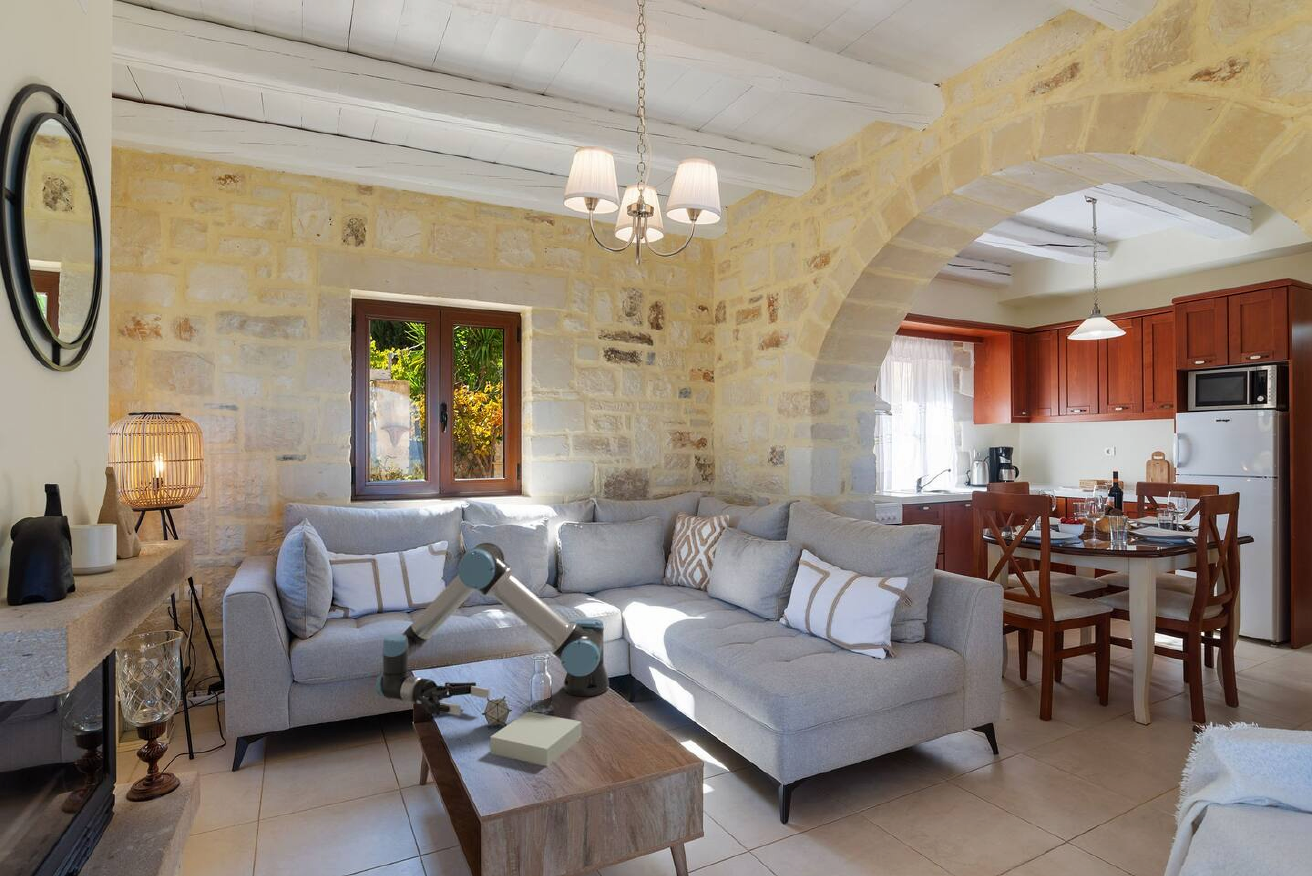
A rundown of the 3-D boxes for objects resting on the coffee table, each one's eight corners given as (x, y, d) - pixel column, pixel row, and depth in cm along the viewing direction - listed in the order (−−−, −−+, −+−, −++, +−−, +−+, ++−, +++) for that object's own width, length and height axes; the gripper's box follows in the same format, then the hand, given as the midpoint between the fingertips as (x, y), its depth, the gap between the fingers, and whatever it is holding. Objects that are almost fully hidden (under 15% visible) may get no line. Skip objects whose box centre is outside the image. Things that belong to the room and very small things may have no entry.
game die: (500, 740, 205) (502, 721, 199) (475, 727, 207) (476, 709, 201) (515, 715, 212) (518, 696, 206) (491, 703, 214) (493, 684, 208)
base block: (528, 728, 206) (528, 711, 205) (581, 739, 198) (581, 721, 198) (490, 755, 189) (490, 736, 189) (547, 768, 182) (547, 749, 182)
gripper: (446, 689, 229) (500, 699, 221) (389, 718, 206) (446, 731, 198) (446, 666, 229) (500, 675, 221) (389, 693, 206) (446, 704, 198)
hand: (474, 702), depth 209 cm, fingers open, 13 cm apart
